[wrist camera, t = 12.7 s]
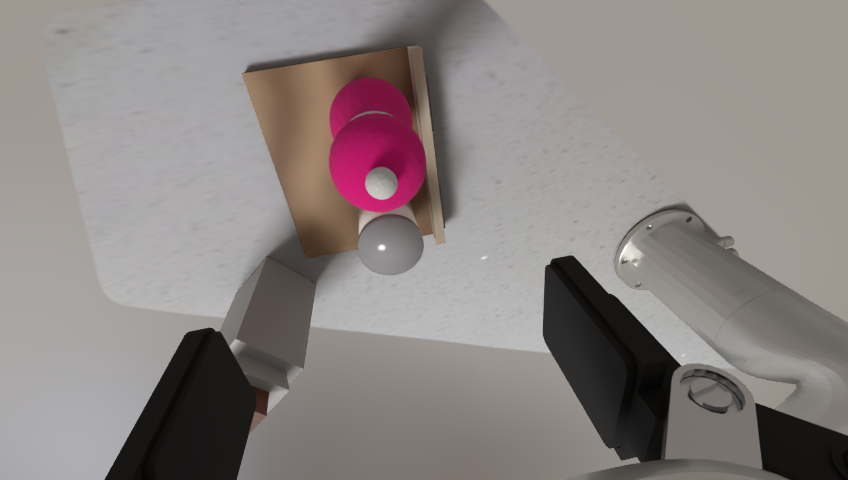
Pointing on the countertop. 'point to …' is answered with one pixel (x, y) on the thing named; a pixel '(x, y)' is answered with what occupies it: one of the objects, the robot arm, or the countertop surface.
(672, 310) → the robot arm
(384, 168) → the pepper mill
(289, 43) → the countertop surface
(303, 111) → the shelf
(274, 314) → the perfume bottle
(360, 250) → the jar
